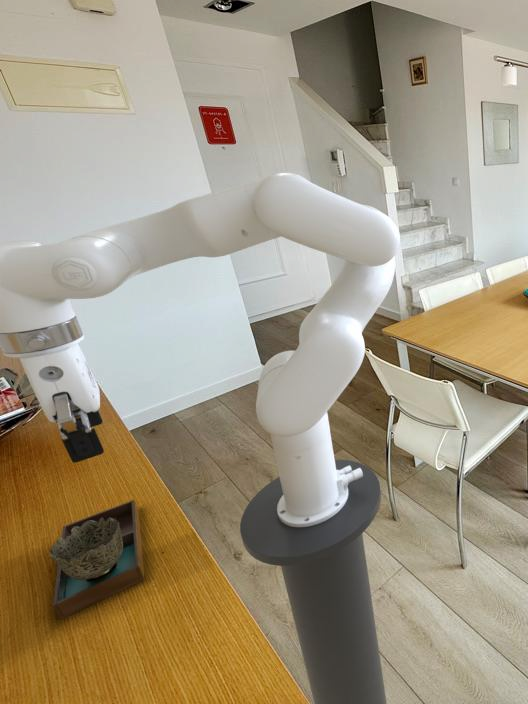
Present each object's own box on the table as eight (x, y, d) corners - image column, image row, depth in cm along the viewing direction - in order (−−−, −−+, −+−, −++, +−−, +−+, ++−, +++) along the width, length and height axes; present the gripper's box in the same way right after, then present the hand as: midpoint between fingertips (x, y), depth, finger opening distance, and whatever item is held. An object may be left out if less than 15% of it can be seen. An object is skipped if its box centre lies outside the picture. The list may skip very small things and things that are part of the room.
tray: (139, 512, 77) (134, 499, 76) (144, 580, 65) (138, 566, 64) (69, 539, 71) (62, 526, 70) (60, 620, 59) (52, 605, 58)
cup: (95, 602, 61) (76, 562, 58) (55, 592, 62) (34, 553, 59) (146, 557, 68) (131, 520, 65) (109, 550, 69) (92, 513, 66)
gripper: (79, 347, 52) (126, 458, 58) (81, 312, 63) (120, 408, 70) (-13, 366, 47) (48, 485, 53) (8, 325, 59) (56, 426, 65)
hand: (89, 441), depth 61 cm, fingers open, 9 cm apart
